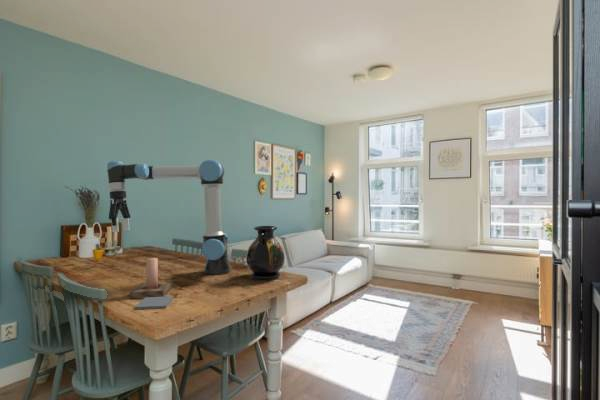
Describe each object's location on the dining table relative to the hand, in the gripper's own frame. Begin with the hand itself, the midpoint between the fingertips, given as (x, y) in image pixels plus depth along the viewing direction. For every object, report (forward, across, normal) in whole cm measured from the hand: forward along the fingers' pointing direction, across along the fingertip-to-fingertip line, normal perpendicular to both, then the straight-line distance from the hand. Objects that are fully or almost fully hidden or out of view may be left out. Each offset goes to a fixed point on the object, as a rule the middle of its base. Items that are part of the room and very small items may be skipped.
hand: (121, 231), depth 167 cm
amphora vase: (+34, -1, +72) cm, 80 cm away
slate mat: (+31, +37, +26) cm, 54 cm away
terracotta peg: (+29, +22, +20) cm, 42 cm away
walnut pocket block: (+29, +22, +20) cm, 42 cm away
